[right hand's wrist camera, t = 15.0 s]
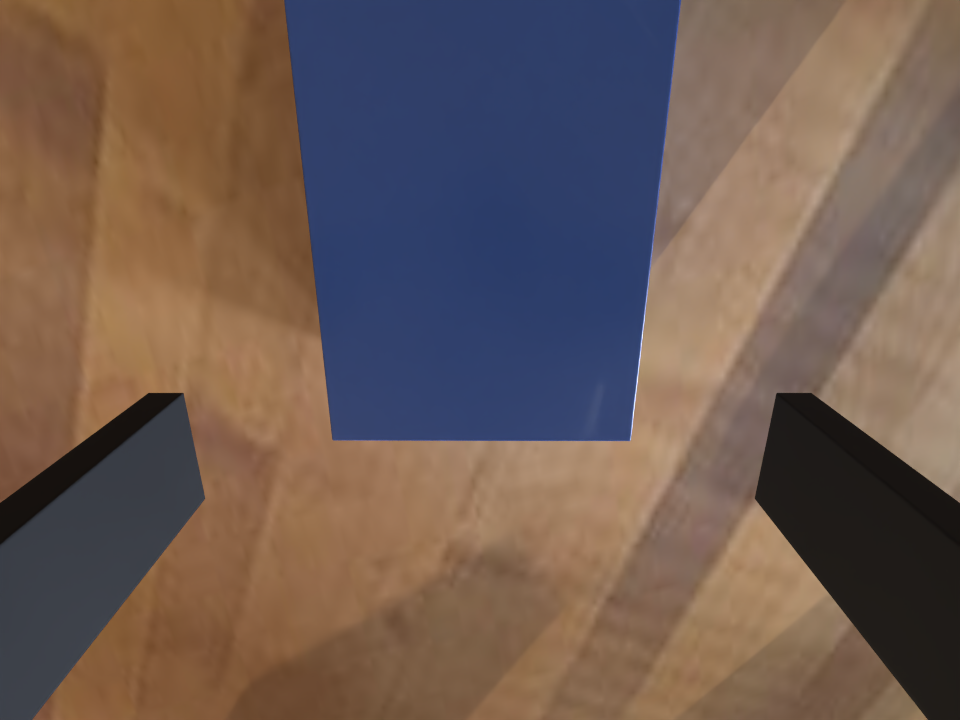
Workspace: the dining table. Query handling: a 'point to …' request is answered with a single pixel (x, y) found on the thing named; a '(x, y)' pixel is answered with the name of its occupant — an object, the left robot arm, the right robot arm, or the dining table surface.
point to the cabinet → (482, 209)
